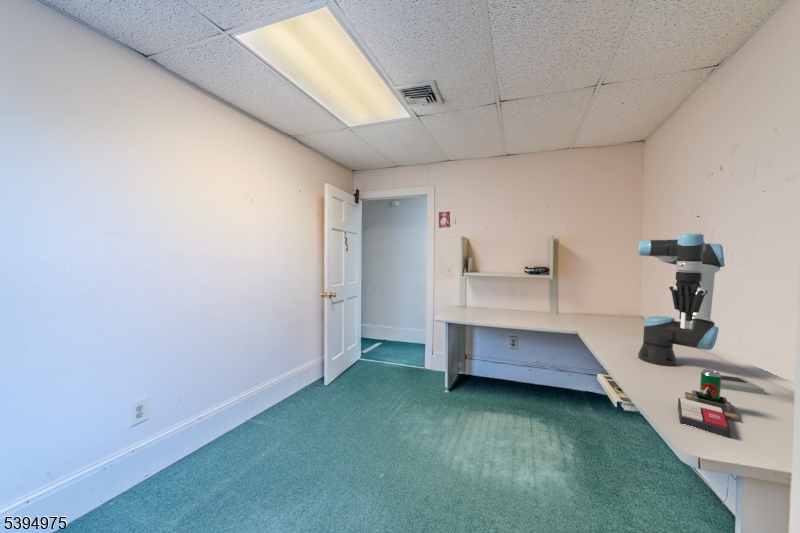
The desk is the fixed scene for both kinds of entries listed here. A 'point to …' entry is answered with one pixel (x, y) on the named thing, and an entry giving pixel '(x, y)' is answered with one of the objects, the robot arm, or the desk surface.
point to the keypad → (739, 385)
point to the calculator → (703, 417)
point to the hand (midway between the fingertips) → (685, 328)
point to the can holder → (715, 404)
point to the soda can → (710, 385)
